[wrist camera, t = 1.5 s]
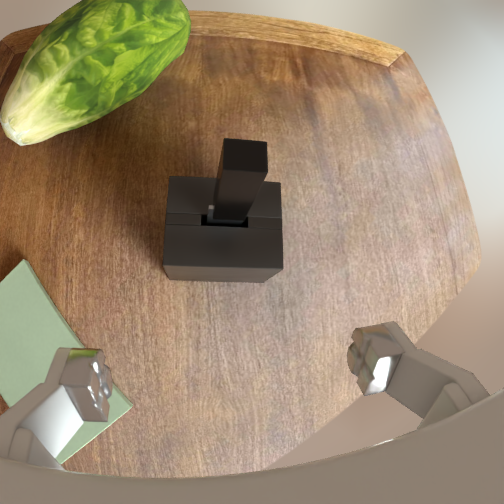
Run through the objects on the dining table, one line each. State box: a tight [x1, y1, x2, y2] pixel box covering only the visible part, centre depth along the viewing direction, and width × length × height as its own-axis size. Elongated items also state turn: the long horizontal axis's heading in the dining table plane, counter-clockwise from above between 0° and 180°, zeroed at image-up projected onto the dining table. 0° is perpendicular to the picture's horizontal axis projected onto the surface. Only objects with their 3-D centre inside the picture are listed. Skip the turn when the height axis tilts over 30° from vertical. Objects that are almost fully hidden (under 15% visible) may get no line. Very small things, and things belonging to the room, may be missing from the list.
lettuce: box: [0, 0, 191, 146], centre depth 29 cm, size 15×27×16 cm, turn 142°
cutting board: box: [0, 259, 133, 464], centre depth 27 cm, size 20×13×1 cm, turn 43°
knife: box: [206, 138, 268, 227], centre depth 25 cm, size 2×3×18 cm, turn 90°
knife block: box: [163, 176, 283, 283], centre depth 31 cm, size 8×10×8 cm
